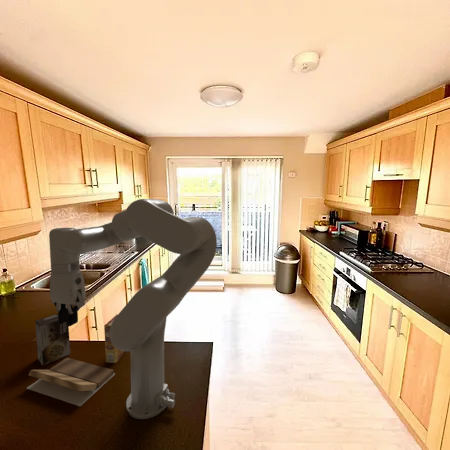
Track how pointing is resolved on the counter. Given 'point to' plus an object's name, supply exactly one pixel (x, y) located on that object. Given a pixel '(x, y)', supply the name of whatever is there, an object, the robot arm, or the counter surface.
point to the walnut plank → (83, 371)
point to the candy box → (111, 345)
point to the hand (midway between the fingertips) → (68, 322)
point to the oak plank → (63, 380)
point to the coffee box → (52, 339)
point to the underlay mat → (63, 392)
